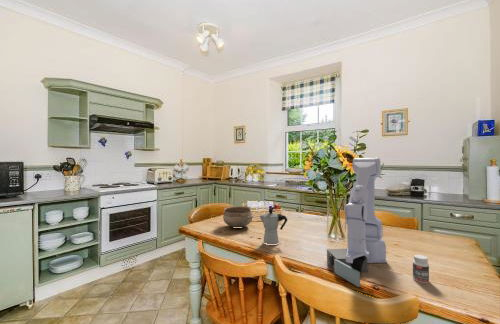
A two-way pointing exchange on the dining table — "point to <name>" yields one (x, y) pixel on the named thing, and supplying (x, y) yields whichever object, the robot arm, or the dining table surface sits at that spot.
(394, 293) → the dining table surface
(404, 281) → the dining table surface
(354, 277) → the side door
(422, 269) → the pill bottle
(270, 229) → the coffee maker
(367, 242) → the robot arm
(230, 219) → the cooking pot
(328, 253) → the camera housing
